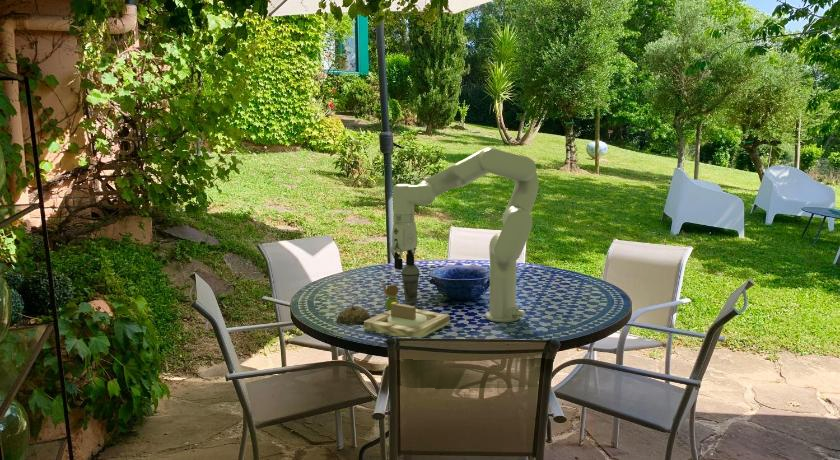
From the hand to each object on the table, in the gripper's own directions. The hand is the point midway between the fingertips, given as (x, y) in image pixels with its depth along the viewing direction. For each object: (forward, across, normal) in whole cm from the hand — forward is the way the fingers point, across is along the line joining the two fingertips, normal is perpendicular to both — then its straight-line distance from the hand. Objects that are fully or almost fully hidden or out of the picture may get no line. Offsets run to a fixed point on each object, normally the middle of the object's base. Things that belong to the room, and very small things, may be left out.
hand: (404, 266), depth 238 cm
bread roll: (+20, -10, +17) cm, 28 cm away
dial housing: (+20, -6, -6) cm, 21 cm away
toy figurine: (+20, +6, +10) cm, 23 cm away
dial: (+18, -6, -5) cm, 20 cm away
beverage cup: (+20, +20, +12) cm, 31 cm away
